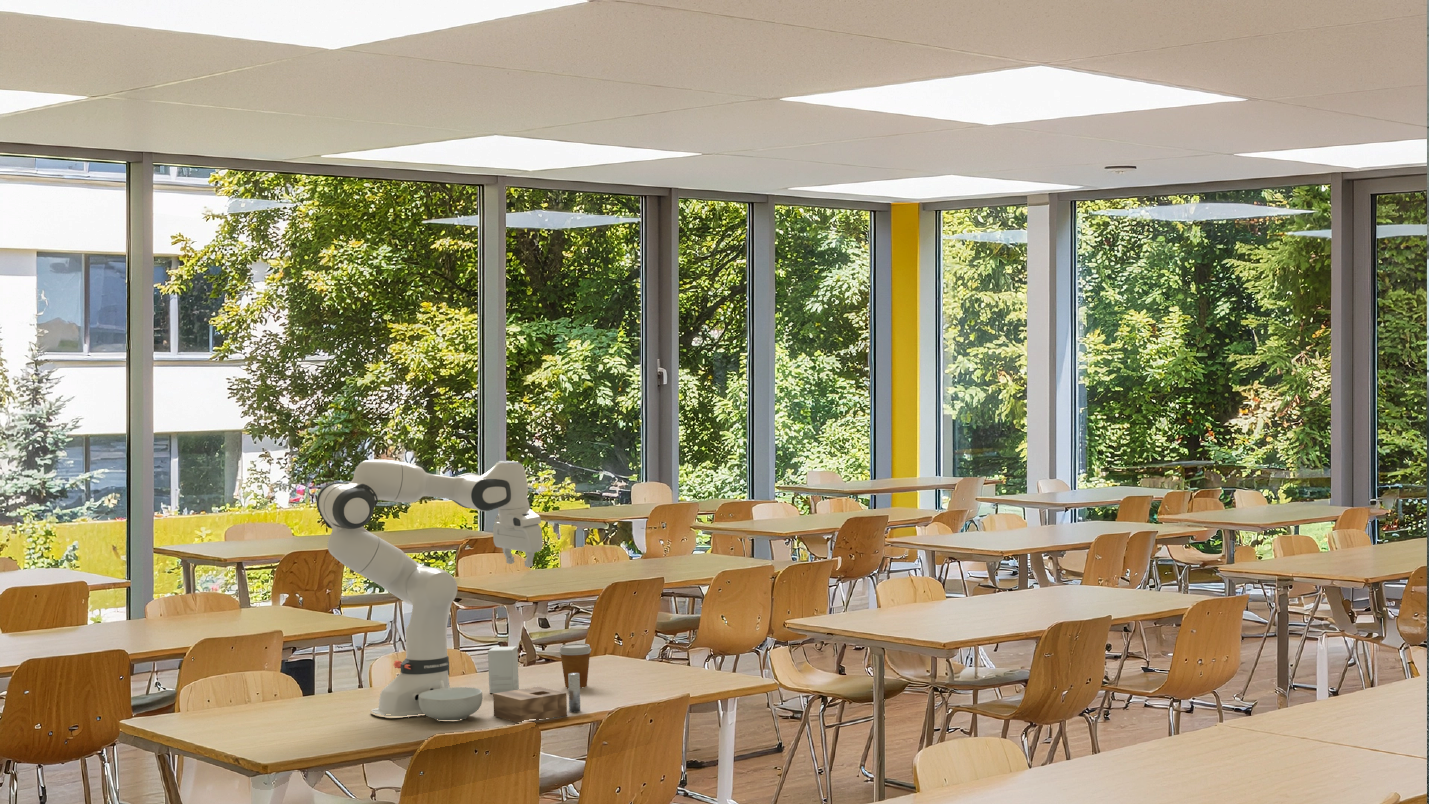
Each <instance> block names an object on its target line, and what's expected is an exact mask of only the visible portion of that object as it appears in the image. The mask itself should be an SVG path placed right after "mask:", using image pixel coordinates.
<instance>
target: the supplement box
mask: <svg viewBox="0 0 1429 804" xmlns="http://www.w3.org/2000/svg"><path fill="white" fill-rule="evenodd" d="M518 655H519V653H518V645H517V646H516V645H515V646H493V647H491V648H490V649H489V650H487V659H488V660H487V661H488V662H487V663H488V685H489V686H488V688H489V689H488V690H489V694H490V693H500V692H507V691H513V690H520V689H519V688H520V683H519V656H518Z"/></svg>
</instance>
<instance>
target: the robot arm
mask: <svg viewBox="0 0 1429 804" xmlns="http://www.w3.org/2000/svg"><path fill="white" fill-rule="evenodd" d="M528 488H529V487H528V479H527V475H526V469H525V467H524V465H523V464H522V463H521V462H519V461H514V460H513V461H511V460H499V461H496V463H495V464H494V465H493V467H492V468H490V469H489V470H488V471H486V472H485V473H483V474H481V475H480V474H477V473H475V472H467V473H466V472H465V473H463V474H459V475H456V476H447V475H440V474H432V473H429V472H426V471H425V470H424V468H423V467H421V466H420V465H419V466H418V465H415V464H413V463H410V462H406V461H400V460H393V459H391V460H390V459H368V460H367V459H365V460H363V461H362V462H361V461H360V463H359V464H358V465H357V466H356V468H355V470H354V473H353V478H352V479H351V481H350V482H349V483H348V484H346V483H344V482H333V483H328V484H326V485H325V486H323V487H322V488H321V489H320V490H319V492H318V494H317V496H316V503H315V504H316V507H317V511H318V513H319V515H320V516H321V518H322V520H323V522H324V524H325V525H326V527H327V528H328V529H331V530H332V531H331V533H330V535H329V537H328V540H327V550H328V552H329V554H330V555H331V556H332V557H333V558H335V560H337V561H339V563H341V564H342V565H344V567H346V568H348V570H349V569H350V570H351V571H353V572H355V573H357V574H358V575H360V576H362V577H363V578H366V579H368V580H370V582H373V583H374V584H376V585H377V586H380V587H382V588H383V589H384V590H386V591H387V592H388V593H390V594H392V595H393V596H394V597H396V598H398V599H399V600H401V601H402V602H404V603H406V604H408V605H410V606H412V611H411V616H410V620H409V623H408V625H407V627H406V629H405V655H406V656H405V658H404V660H403V661H400V660H395V661H394V662H393V664H392V665H393V667H394V668H395V669H400V673H399V674H398V675H397V676H396V677H395V678H393V680H391V681H390V682H389V683H388V684H387V685H386V686H384V688H382V690H381V691H380V694H379V695H380V696H379V701H378V707H376V708H371V710H370V712H371V711H372V712H373V713H375V714H381V715H384V716H407V715H418V714H424V713H423V712H422V711H421V709H420V706H419V699H418V696H419V694H420V693H422V692H425V691H429V690H434V689H441V688H451V687H450V686H451V685H450V679H449V678H450V677H449V676H450V657H449V656H448V633H447V632H448V622H449V617H450V614H451V613H450V612H451V607H452V604H453V602H454V601H455V599H456V597H457V594H458V583H457V581H456V578H454V576H453V575H452V574H450V573H449V572H448V571H446V570H445V569H442V568H439V567H430V566H427V565H424V564H421V563H419V562H418V561H416V560H415V559H413V558H411V557H410V556H409V555H408V554H406V553H405V552H404V551H403V550H402V549H400V548H399V547H396V546H395V545H393V544H392V543H389V542H388V541H387V540H385V539H384V538H382V537H380V536H377V535H376V534H374V533H372V532H371V531H369V530H367V529H366V528H365V527H364V526H366V525H367V524H368V523H369V522H370V520H371V519H372V517H373V514H374V511H375V508H376V506H377V504H378V503H379V501H386V502H394V503H415V502H418V501H420V500H421V499H422V498H423V497H430V498H439V499H440V498H441V499H447V500H450V501H452V502H454V503H455V504H457V505H458V506H460V507H462V508H465V509H472V510H475V511H476V510H477V511H480V512H490V511H493V510H495V509H497V511H498V515H496V517H495V518H494V524H493V525H492V526H493V527H492V528H493V530H492V532H493V533H492V537H493V539H492V540H493V544H494V546H495V547H496V548H500V549H502V553H503V555H504V557H505V560H506V564H508V565H509V564H510V565H512V564H514V563H515V557H514V556H513V555H512V550H513V551H517V552H518V551H519V552H524V553H525V554H524V555H525V556H526V558H525V560H524V561H523V562H524V566H525V567H526V568H530V567H533V566H534V564H533V563H534V562H533V561H534V557H535V553H538V552H540V551H542V549H543V546H544V545H543V533H542V528H541V525H540V524H541V523H542V518H541V516H540V515H539V514H537V513H536V512H534V511H533V510H532V509H531V508H530V506H531V505H530V501H529V499H528V492H529V489H528ZM386 714H391V715H386Z"/></svg>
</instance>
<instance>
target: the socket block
mask: <svg viewBox="0 0 1429 804" xmlns="http://www.w3.org/2000/svg"><path fill="white" fill-rule="evenodd" d="M492 696H493V700H492V701H493V717H495V716H497V717H496V718H499V719H503V720H506V721H510V722H515V723H517V722H522V721H524V720H529V719H536V720H539V719H545V720H547V719H546V718H551V719H554V718H553V717H557V718H561V717H560V716H563V717H567V716H568V703H567V701H568V700H567V698H568V697H567V692H563V691H560V690H555V689H551V688H546V687H542V686H534V687H528V688H521V689H518V690H513V691H507V692H500V693H493V695H492ZM539 721H540V720H539Z"/></svg>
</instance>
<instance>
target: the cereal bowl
mask: <svg viewBox="0 0 1429 804" xmlns="http://www.w3.org/2000/svg"><path fill="white" fill-rule="evenodd" d="M418 699H419V706H420V709H421V711H422V712H423V713H424V714H425V715H426V717H429V718H432V719H435V720H436V719H438V720H460V719H465V720H466V719H467V718H468V717H469V716H471V715H473V714H474V713H476V712H478V710H479V709H480V708H481V706H482V703H483V690H482V689H480V688H478V687H469V686H458V687H457V686H454V687H452V686H451V687H450V688H441V689H434V690H429V691H425V692H422V693H420V694H419V696H418Z"/></svg>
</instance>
